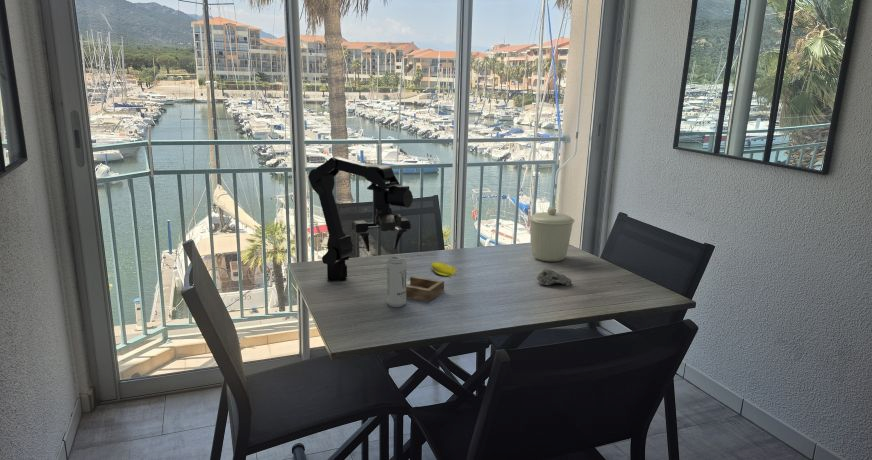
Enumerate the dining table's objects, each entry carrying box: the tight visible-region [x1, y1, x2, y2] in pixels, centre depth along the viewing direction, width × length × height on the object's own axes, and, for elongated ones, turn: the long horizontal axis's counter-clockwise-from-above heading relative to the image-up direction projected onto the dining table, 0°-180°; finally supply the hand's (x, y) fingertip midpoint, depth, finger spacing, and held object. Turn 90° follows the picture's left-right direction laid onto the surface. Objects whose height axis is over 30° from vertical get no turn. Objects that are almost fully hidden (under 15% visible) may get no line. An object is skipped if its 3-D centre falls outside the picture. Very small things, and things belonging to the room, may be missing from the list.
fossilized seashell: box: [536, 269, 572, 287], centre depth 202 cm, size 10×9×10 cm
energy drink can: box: [386, 255, 407, 308], centre depth 179 cm, size 6×6×15 cm
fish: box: [430, 261, 458, 279], centre depth 215 cm, size 3×16×10 cm
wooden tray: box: [406, 275, 445, 302], centre depth 190 cm, size 12×11×4 cm
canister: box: [528, 206, 575, 263], centre depth 232 cm, size 18×18×21 cm
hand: (381, 250), depth 193 cm, fingers open, 9 cm apart
